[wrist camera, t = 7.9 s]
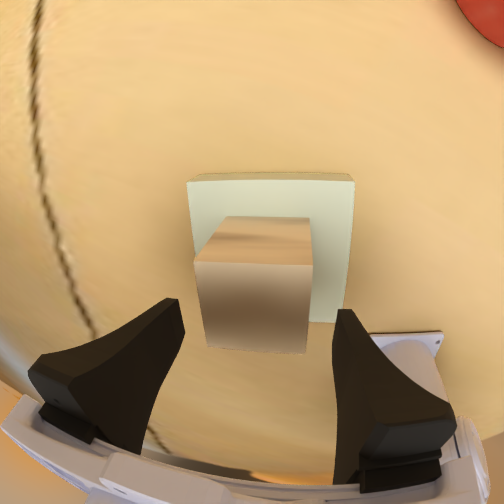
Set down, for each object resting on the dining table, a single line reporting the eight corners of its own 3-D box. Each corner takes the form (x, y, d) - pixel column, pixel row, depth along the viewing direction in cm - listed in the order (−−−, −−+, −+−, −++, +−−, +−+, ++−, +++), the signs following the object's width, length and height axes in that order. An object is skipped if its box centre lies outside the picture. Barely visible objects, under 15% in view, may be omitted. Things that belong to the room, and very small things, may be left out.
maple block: (305, 289, 19) (305, 354, 13) (231, 286, 20) (207, 346, 14) (309, 217, 17) (313, 265, 11) (226, 216, 17) (193, 261, 12)
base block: (336, 299, 22) (340, 322, 20) (215, 293, 24) (204, 315, 21) (347, 172, 18) (355, 181, 15) (202, 173, 20) (186, 182, 17)
